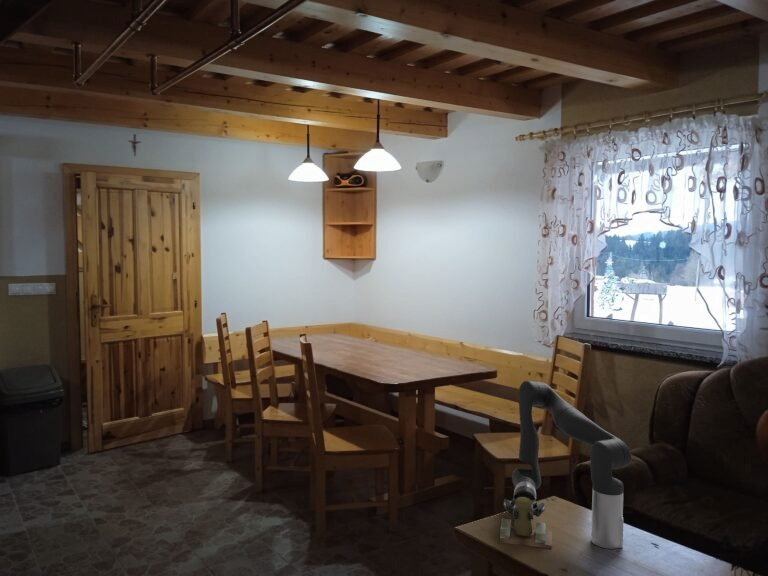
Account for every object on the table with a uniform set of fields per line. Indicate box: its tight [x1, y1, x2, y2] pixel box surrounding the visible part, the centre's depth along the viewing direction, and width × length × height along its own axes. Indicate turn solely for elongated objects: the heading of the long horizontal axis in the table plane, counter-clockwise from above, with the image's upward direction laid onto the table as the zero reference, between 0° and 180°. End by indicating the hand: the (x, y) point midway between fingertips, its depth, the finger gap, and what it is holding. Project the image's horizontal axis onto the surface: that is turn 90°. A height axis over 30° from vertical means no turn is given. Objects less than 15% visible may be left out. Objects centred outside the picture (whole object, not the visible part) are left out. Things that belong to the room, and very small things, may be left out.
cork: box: [513, 497, 533, 536], centre depth 201 cm, size 6×6×11 cm
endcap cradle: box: [499, 517, 553, 549], centre depth 201 cm, size 16×10×4 cm, turn 75°
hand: (523, 517), depth 198 cm, fingers closed on cork, 3 cm apart
